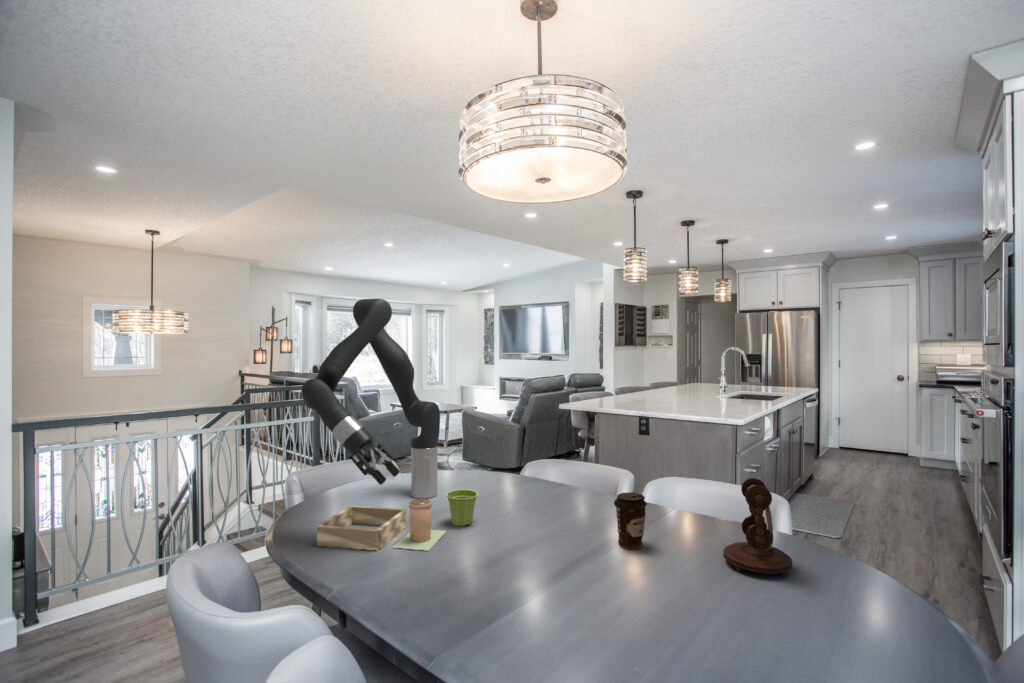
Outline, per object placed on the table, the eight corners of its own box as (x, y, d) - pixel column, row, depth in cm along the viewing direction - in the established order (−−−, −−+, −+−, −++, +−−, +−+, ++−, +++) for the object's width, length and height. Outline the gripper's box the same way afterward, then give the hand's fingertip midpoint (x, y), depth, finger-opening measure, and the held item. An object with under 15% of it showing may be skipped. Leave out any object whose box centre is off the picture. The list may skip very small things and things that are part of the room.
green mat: (413, 529, 146) (413, 528, 146) (446, 531, 144) (446, 530, 144) (392, 548, 133) (392, 547, 133) (428, 551, 131) (428, 550, 131)
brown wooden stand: (799, 583, 111) (798, 492, 112) (727, 575, 116) (725, 487, 116) (784, 557, 126) (783, 476, 126) (720, 550, 130) (719, 472, 130)
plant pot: (480, 518, 156) (480, 489, 156) (474, 529, 146) (474, 499, 147) (450, 517, 157) (450, 489, 157) (443, 528, 147) (443, 498, 148)
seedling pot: (414, 533, 142) (414, 497, 142) (434, 535, 141) (434, 499, 141) (405, 542, 136) (405, 504, 136) (426, 543, 135) (426, 505, 135)
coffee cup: (654, 545, 134) (653, 495, 134) (638, 554, 128) (637, 502, 128) (624, 536, 140) (624, 489, 140) (608, 545, 134) (607, 496, 134)
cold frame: (350, 522, 153) (350, 505, 153) (408, 526, 149) (407, 509, 149) (314, 545, 135) (314, 526, 135) (378, 550, 131) (378, 531, 131)
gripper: (348, 430, 135) (388, 475, 133) (373, 422, 149) (410, 463, 147) (330, 450, 137) (369, 494, 134) (356, 440, 150) (393, 480, 148)
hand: (390, 478), depth 141 cm, fingers open, 8 cm apart
